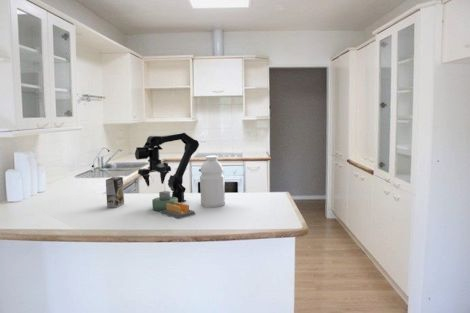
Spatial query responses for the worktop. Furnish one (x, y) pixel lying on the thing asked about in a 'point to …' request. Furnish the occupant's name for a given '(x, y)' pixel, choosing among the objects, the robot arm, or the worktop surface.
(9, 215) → the worktop surface
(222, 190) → the bottle
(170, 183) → the robot arm
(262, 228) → the worktop surface
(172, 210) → the chute
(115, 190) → the coffee box
